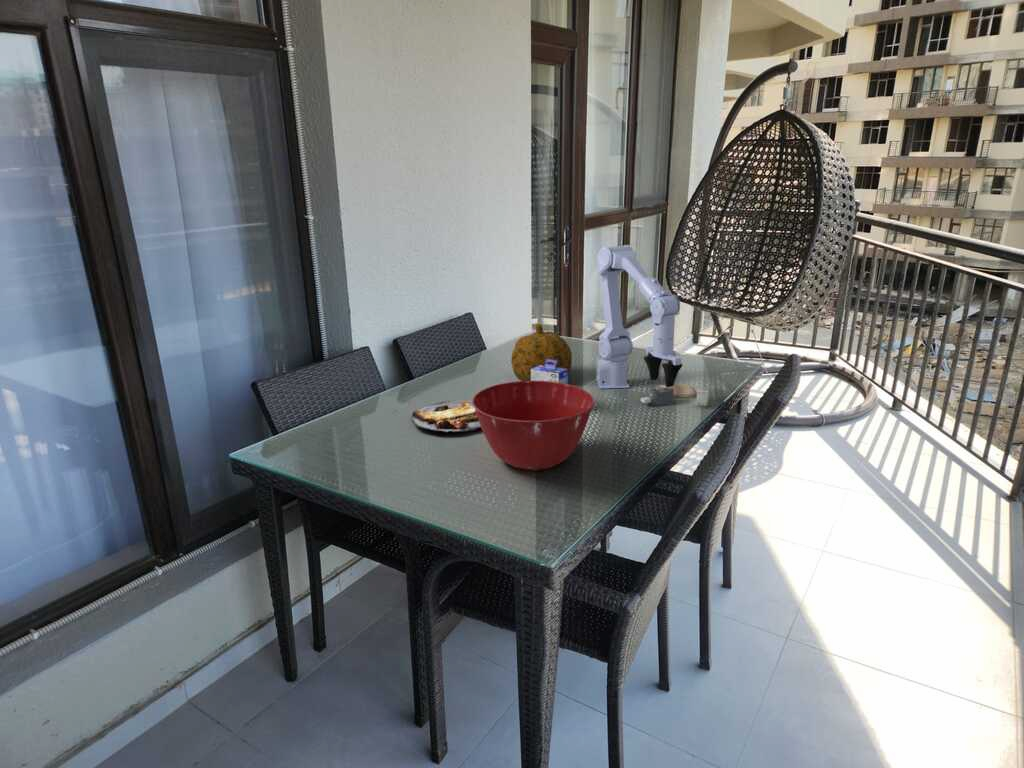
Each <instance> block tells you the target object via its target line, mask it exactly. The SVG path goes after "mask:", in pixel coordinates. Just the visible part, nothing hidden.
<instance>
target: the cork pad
mask: <svg viewBox="0 0 1024 768" xmlns="http://www.w3.org/2000/svg"><path fill="white" fill-rule="evenodd" d="M661 388H673V389H674V399H678V398H677V397H690V398H697V392H695V390H694V389H693V388H691V387H690V386H689V384H687V383H685V384H684V383H683V384H681V383H680V384H678V383H677V384H674V385H673V387H666V385H665V384H656V385H655V389H661Z"/></svg>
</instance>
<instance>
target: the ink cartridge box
mask: <svg viewBox="0 0 1024 768" xmlns="http://www.w3.org/2000/svg"><path fill="white" fill-rule="evenodd" d="M548 362H553V363H554V365H550V364H547V363H548ZM556 364H557V360H551V359H547V360H546V363H545V366H542V365H540V366H537V367H534V368H532V369H531V381H551V382H559V383H565V384H569V380H568V379H569V372H568V369H563V368H556Z"/></svg>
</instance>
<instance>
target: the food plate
mask: <svg viewBox="0 0 1024 768" xmlns="http://www.w3.org/2000/svg"><path fill="white" fill-rule="evenodd" d="M457 418H459V419H458V421H453V420H455V419H457ZM410 420H411V421H412V423H413V424H414V425H415V426H416V427H418V428H421V429H425V430H430V431H432V432H441V434H442V433H448V432H452V433H457V432H469V431H470V432H473V431H476V430H477V429H482V428H481V425H480V423H479V420H478V417H477V414H476V411H475V408H474V406H473V404H472V400H464V399H463V400H451V401H450V400H447V401H446V400H445V401H442V402H437V403H434V404H431V405H430V404H429V405H426V406H424V407H422V408H419V409H418V410H414V411H412V415H411V418H410ZM435 426H436V427H437V428H435Z"/></svg>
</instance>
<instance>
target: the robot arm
mask: <svg viewBox="0 0 1024 768" xmlns="http://www.w3.org/2000/svg"><path fill="white" fill-rule="evenodd" d="M597 253H598V254H597V255H596V261H597V269H598V274H599V283H600V290H601V291H600V292H601V298H602V299H601V301H602V306H603V307H602V309H603V318H604V325H605V327H604V328H605V330H604V331H603V332H602V333H601V334H600V335H599V336H598V339H599V343H598V344H599V345H598V353H599V355H600V356H601V358H598V359H597V360H596V381H595V382H596V384H597V386H598V387H599V389H600V390H601V389H602V390H603V389H604V390H605V389H628V388H630V384H629V383H628V382H627V374H628V373H627V372H628V371H627V369H628V368H627V366H628V359H629V358H630V355H631V354H632V353H633V350H634V349H633V348H634V344H633V341H632V338H631V335H630V331H629V330H627V329H626V328H625V327H624V326H623V317H622V308H621V300H620V299H621V297H620V291H619V289H620V288H619V281H618V277H619V276H620V274H621V273H622V272H624V271H625V272H627V274H628V275H629V276H630V277H631V278H632V279H633V280H634V281H635V282H636V283H637V284H638V291H639V292H640V294H641V295H642V296H643V298H644V299H645V300H646V302H647V303H648V304H649V310H650V311H649V312H650V313H651V316H652V322H653V338H652V339H653V340H652V341H653V343H652V346H650V347H646V348H645V355H647V356H643V360H644V362H645V364H646V366H647V369H648V373H649V377H650V381H656V380H659V377H660V376H659V375H660V368H661V366H662V368H663V372H664V382H665V383H664V385H666V387H673V385H675V381H676V378H677V376H678V373H679V371H680V370H681V368H682V367H683V363H682V357H679V356H678V355H677V351H676V350H674V345H675V344H674V343H675V341H674V340H675V323H676V321H675V319H676V315H677V314H678V313H679V312H680V308H681V303H680V299H679V298H678V297H677V295H676V294H673V293H672V294H671V293H670V292H667V290H666V289H665V288H664V287H663V286H662V285H661V284H660V282H659V279H658V278H656V277H654V276H653V277H652V276H649V275H648V274H647V272H646V271H645V270H644V268H643V267H642V265H641V264H640V262H639V261H638V259H637V253H636V251H635V250H634V249H633V247H632V246H631V245H629V244H624V245H617V246H604V247H601V248H600V250H599V251H598V252H597ZM662 360H663V361H665V363H662Z"/></svg>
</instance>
